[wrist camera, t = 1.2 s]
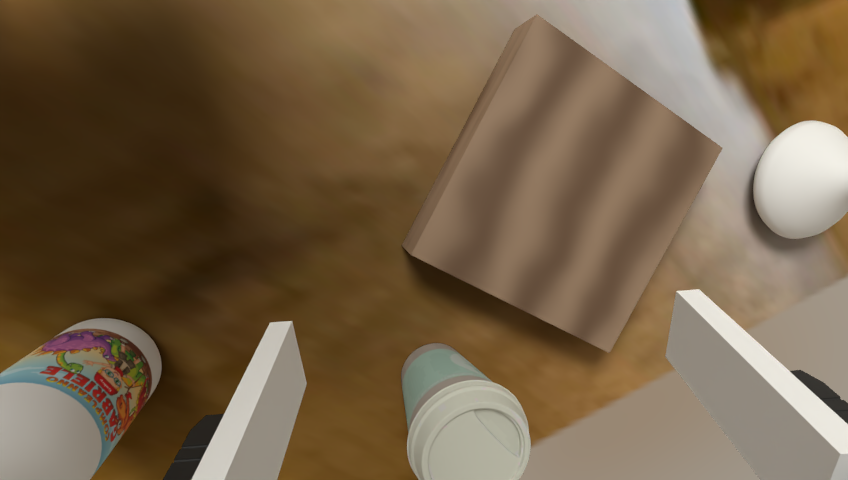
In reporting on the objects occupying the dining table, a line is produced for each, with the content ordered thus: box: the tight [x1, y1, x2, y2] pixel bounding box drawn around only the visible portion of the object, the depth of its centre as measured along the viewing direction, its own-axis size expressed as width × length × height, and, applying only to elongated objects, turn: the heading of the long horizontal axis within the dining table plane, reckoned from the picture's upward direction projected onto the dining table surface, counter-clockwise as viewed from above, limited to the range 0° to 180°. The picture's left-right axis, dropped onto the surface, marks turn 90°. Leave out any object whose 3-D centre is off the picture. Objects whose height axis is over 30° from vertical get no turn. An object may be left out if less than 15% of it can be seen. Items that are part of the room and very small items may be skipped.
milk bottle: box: [0, 318, 162, 480], centre depth 26 cm, size 8×8×20 cm
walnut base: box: [402, 15, 722, 353], centre depth 39 cm, size 20×20×4 cm
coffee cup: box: [401, 343, 531, 480], centre depth 36 cm, size 8×8×12 cm
